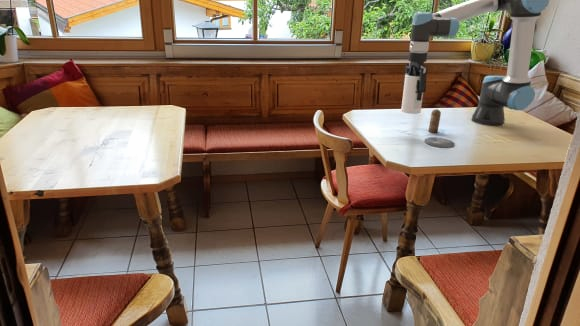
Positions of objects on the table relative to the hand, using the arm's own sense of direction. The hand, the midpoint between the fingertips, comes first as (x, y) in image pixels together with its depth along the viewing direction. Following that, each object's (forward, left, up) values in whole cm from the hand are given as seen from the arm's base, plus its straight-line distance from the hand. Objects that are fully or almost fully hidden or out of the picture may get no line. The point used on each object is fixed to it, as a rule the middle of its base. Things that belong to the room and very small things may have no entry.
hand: (411, 104), depth 187 cm
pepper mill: (-13, -1, -13) cm, 19 cm away
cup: (0, 0, -3) cm, 3 cm away
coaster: (-7, +14, -13) cm, 21 cm away
